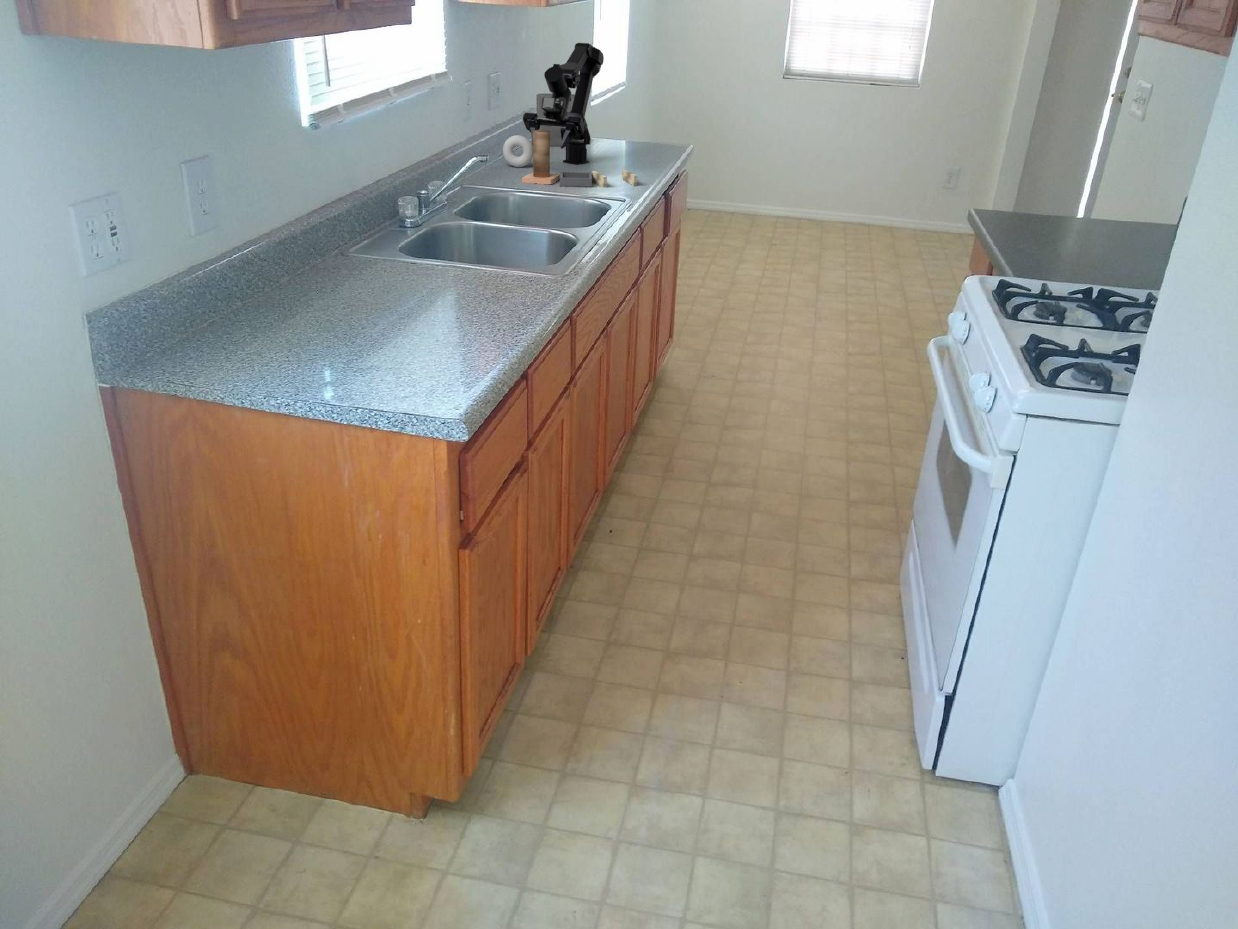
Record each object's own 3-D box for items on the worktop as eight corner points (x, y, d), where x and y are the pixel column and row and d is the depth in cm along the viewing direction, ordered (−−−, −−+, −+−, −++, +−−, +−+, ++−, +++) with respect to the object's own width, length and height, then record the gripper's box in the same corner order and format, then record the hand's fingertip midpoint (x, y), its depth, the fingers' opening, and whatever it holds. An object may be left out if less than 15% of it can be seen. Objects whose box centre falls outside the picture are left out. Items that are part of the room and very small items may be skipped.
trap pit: (560, 179, 293) (560, 171, 292) (591, 180, 293) (591, 172, 292) (559, 186, 284) (559, 177, 283) (591, 187, 285) (591, 178, 284)
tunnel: (591, 180, 293) (591, 170, 292) (624, 179, 297) (624, 169, 296) (603, 187, 285) (603, 177, 284) (637, 185, 289) (637, 175, 288)
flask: (577, 144, 350) (577, 86, 341) (578, 147, 345) (579, 88, 336) (536, 143, 349) (536, 85, 339) (537, 146, 344) (536, 87, 334)
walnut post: (531, 174, 291) (531, 129, 285) (547, 174, 293) (547, 129, 287) (535, 177, 287) (534, 132, 281) (551, 177, 288) (551, 132, 282)
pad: (532, 176, 295) (532, 171, 295) (560, 179, 293) (560, 174, 293) (522, 182, 288) (522, 177, 287) (550, 184, 286) (550, 179, 285)
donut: (534, 166, 310) (534, 134, 305) (532, 168, 307) (532, 136, 302) (504, 165, 310) (503, 133, 306) (502, 167, 307) (501, 135, 303)
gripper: (524, 84, 289) (511, 127, 285) (582, 88, 285) (570, 132, 281) (533, 108, 300) (521, 150, 296) (589, 112, 296) (578, 155, 291)
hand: (547, 146), depth 291 cm, fingers open, 9 cm apart
